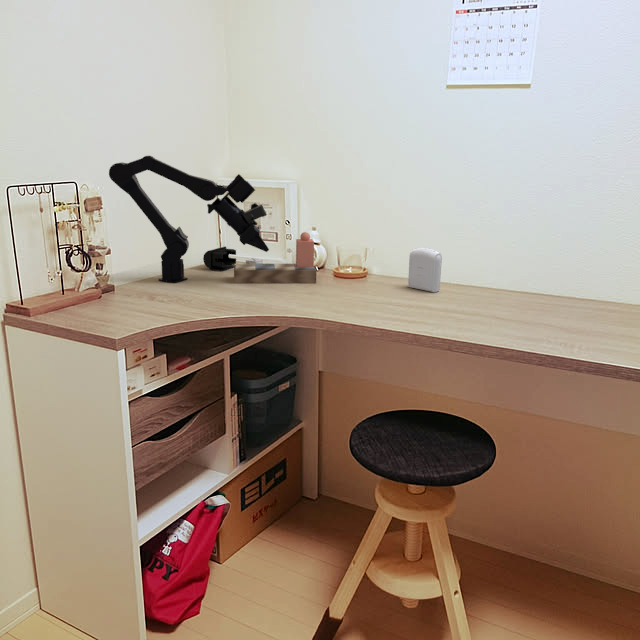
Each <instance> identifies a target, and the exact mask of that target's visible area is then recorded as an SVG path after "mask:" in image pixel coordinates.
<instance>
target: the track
mask: <svg viewBox="0 0 640 640" xmlns="http://www.w3.org/2000/svg"><path fill="white" fill-rule="evenodd" d="M233 284H317V269H316V267H315V266H314V267H297V266H296V263H263V264H252V263H246V262H245V263H242V262H241V263H239V262H236V264H234V268H233Z"/></svg>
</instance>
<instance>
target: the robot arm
mask: <svg viewBox="0 0 640 640" xmlns="http://www.w3.org/2000/svg"><path fill="white" fill-rule="evenodd" d="M145 171H150V172H152V173H154V174H156V175H159V176H160V177H163V178H165V179H167V180H169V181H171V182H174V183H175V184H178V185H180V186H182V187H184V188H186V189H188V190H189V191H190V192H191V193H192V194H194V195H195V196H197V197H198V198H200V199H201V200H203V201H206V202H211V201H212V200H214V199H215V198H216V197H217V198H216V199H215V200H214V201H213V202H211V203H207V204H206V207H207V214H209V215H210V214H211V213H212V212H213V211H215V212H216V214H218V215H219V216H220V217H221V219H222V220H223V221H224V222H226V224H227V226H228V227H230V228H231V229H233V231H234V232H236V234H237V235H238V237H239V242H240V243H241V244H242V245H243V246H246V245H250V247H253V248H256V249H259V250H261V251H263V252H266V253H268V252H269V251H270V248H269V247H268V245H267V243H266V242H265V241H264V239H263V238H262V236H261V235H260V233H261V232H260V227H259V226H257V225H258V222H257V221H256V220H257V219H260V218H264V217H265V216H267V215H268V214H267V213H266V210H265V208H264V206H263V204H259V205H258V204H257V203H256V202H254V203H252V204H250V208H249V209H248V210H246V211H244V209H241V208H239V207H238V206H237V205H236V203H237V204H238V203H241V204H243V203H244V202H245V201H246V200H247V199H248V198H249V197H250V196H251V195H253V193H255V191H256V189H255V187H253V185H252V184H251V183H250V182H249V181H248V180H246V179H245V178H243V176H242V175H241V174H239V173H238V174H237V175H236V176H235V177H234V179H232V181H231V182H230V183H229V184H228V185H221V184H217V183H216V182H214V180H212V179H207V178H203V177H199V176H196V175H192V174H189V173H187V172H185V171H182V170H181V169H178V168H177V167H174V166H172V165H170V164H167V163H166V162H163V161H162V160H159V159H156V158H155V157H154V156H152V155H144V156H143V157H142V158H141V157H140V158H139V159H136V160H133V161H129V162H116V163H114V164H112V165H111V166H110V167H109V169H108V175H109V178H110V180H111V181H112V182H113V183H114V184H115V185H116V186H117V187H118V188H120V189H121V190H122V191H123V192H125V193H126V194H128V195H129V196H130V198H131V199H132V200H133V201H134V203H135V204H136V205H137V207H138V208H139V209H140V210H141V211H142V213H143V214H144V215H145V216H146V218H147V219H148V220H149V222H150V223H151V224H152V225H153V226H154V228H155V229H156V230H157V232H158V233H159V234H160V236H161V239H162V242H163V243H164V245H165V246H164V247H165V249H164V250H163V252H162V254H161V255H160V258H161V262H160V263H161V277H159V278H158V279H157V280H158V281H160V282H167V283H180V282H183V281H186V280H188V277H185V264H184V259H183V258H182V257H183V256H185V255H186V253H187V252H188V250H189V245H190V241H189V240H188V238H189V236H188V235H186V234H185V233H184V231H183V230H182V228H181V226H178V227H177V228H175V227H174V226H172V224H170V223H169V221H168V220H167V218H166V217H165V216H164V215H163V213H162V212H161V211H160V209H159V208H158V207H157V206H156V204H155V203H154V202H153V201H152V199H151V198H150V197H149V195H148V194H147V193H146V192H145V190H144V189H143V188H142V186H141V185H140V182H139V180H138V177H137V174H140V173H144V172H145ZM225 193H226V194H225ZM219 196H222V198H221V199H220V198H219Z"/></svg>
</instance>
